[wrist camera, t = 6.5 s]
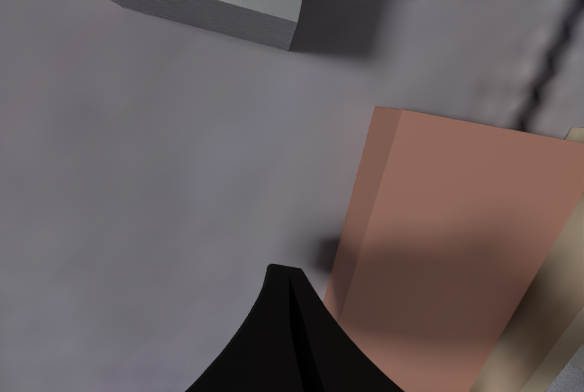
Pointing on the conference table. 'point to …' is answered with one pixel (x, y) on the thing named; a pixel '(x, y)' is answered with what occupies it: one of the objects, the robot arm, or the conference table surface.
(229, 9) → the grey rectangular block
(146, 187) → the conference table surface
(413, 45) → the conference table surface
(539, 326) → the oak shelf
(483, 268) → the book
